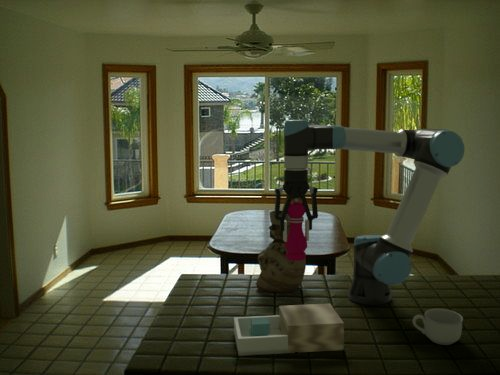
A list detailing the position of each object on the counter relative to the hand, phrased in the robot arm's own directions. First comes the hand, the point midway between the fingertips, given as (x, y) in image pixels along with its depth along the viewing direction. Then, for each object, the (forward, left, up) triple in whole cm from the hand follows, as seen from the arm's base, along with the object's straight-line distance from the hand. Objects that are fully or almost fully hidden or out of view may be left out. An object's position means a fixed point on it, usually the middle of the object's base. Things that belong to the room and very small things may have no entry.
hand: (296, 240), depth 176 cm
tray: (+14, +17, -26) cm, 34 cm away
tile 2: (+14, +18, -22) cm, 32 cm away
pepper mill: (0, 0, -6) cm, 6 cm away
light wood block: (-1, +17, -26) cm, 31 cm away
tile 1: (+14, +17, -22) cm, 32 cm away
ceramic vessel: (0, -31, -27) cm, 41 cm away
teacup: (-38, +22, -27) cm, 51 cm away
